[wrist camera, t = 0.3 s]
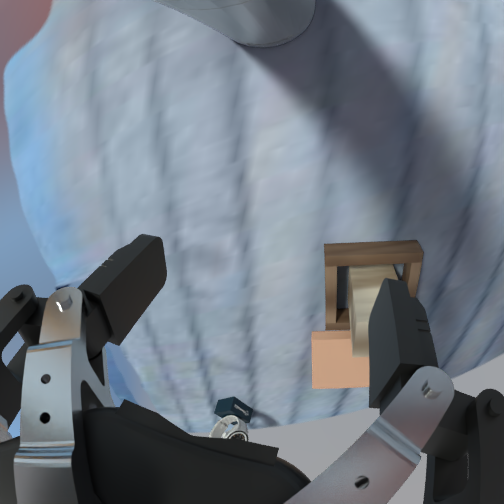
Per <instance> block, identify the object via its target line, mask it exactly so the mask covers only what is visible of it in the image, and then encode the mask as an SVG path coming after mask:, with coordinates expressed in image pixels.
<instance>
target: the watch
mask: <svg viewBox="0 0 504 504" xmlns="http://www.w3.org/2000/svg"><path fill="white" fill-rule="evenodd" d="M252 410H253V409H251V408H250V407H248V406H247V405H245V404H244V403H243V402H241V401H240V400H238V399H237V398H235V397H230V398H226V399H221V400H218V403H217V406H216V409H215V412H214V413H215V414H216V415H218V416H220V417H221V418H223V419H221V420H219V421H218V422H217V423H216V424H215V426H214V427H213V429H212V431H211V432H210V436H209V437H211V438H221V436H222V434H223V438H229V439H240V440H244V441H248V440H249V439H248V431H247V430H248V428H247V425H246V423H250V419H251V415H252ZM230 423H231V424H233V425H235V426H234V427H233V428H232V429H231V430H229V431H227V432H226V433H224V431H225V430H226V429H227V427H228V425H229V424H230Z"/></svg>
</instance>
